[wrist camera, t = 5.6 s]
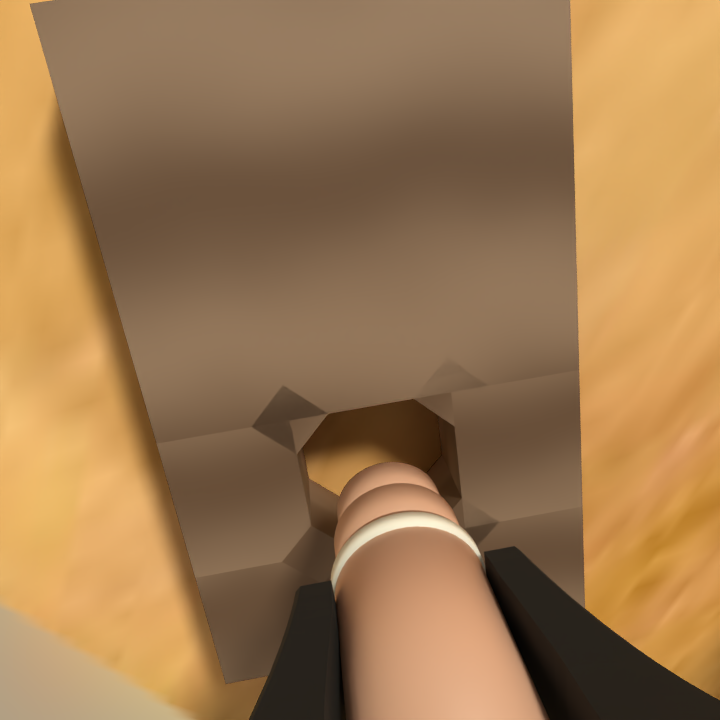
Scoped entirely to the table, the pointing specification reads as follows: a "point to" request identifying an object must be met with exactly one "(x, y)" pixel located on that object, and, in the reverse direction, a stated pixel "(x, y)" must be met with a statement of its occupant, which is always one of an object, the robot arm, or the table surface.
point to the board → (334, 263)
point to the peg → (419, 609)
